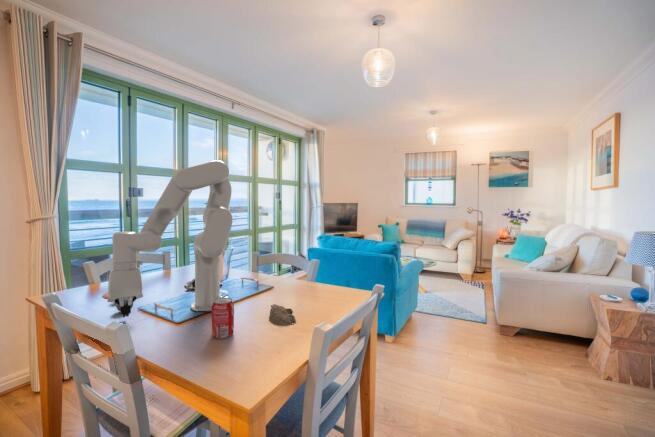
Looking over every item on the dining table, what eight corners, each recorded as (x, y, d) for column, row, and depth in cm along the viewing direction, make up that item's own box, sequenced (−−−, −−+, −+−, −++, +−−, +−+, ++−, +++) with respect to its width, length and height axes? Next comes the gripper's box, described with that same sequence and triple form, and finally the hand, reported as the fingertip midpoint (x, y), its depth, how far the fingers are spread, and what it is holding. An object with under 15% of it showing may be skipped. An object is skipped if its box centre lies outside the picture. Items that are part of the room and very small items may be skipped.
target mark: (144, 289, 147) (144, 288, 147) (129, 298, 133) (129, 298, 133) (113, 289, 145) (113, 288, 145) (95, 299, 131) (95, 298, 131)
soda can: (226, 328, 106) (226, 295, 105) (238, 334, 101) (238, 299, 100) (207, 335, 100) (207, 300, 99) (219, 342, 96) (219, 305, 95)
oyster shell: (271, 327, 108) (271, 314, 108) (267, 314, 120) (267, 302, 120) (297, 324, 111) (297, 311, 111) (290, 312, 123) (290, 300, 123)
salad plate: (178, 284, 158) (177, 275, 157) (212, 279, 169) (212, 271, 169) (188, 294, 143) (188, 284, 142) (225, 287, 154) (225, 278, 154)
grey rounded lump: (136, 308, 121) (135, 295, 121) (128, 314, 116) (128, 300, 116) (121, 309, 121) (121, 295, 120) (113, 314, 115) (113, 300, 115)
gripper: (148, 261, 116) (148, 308, 117) (99, 265, 107) (100, 316, 108) (150, 265, 110) (150, 314, 111) (99, 270, 101) (100, 323, 102)
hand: (125, 315), depth 110 cm, fingers closed
